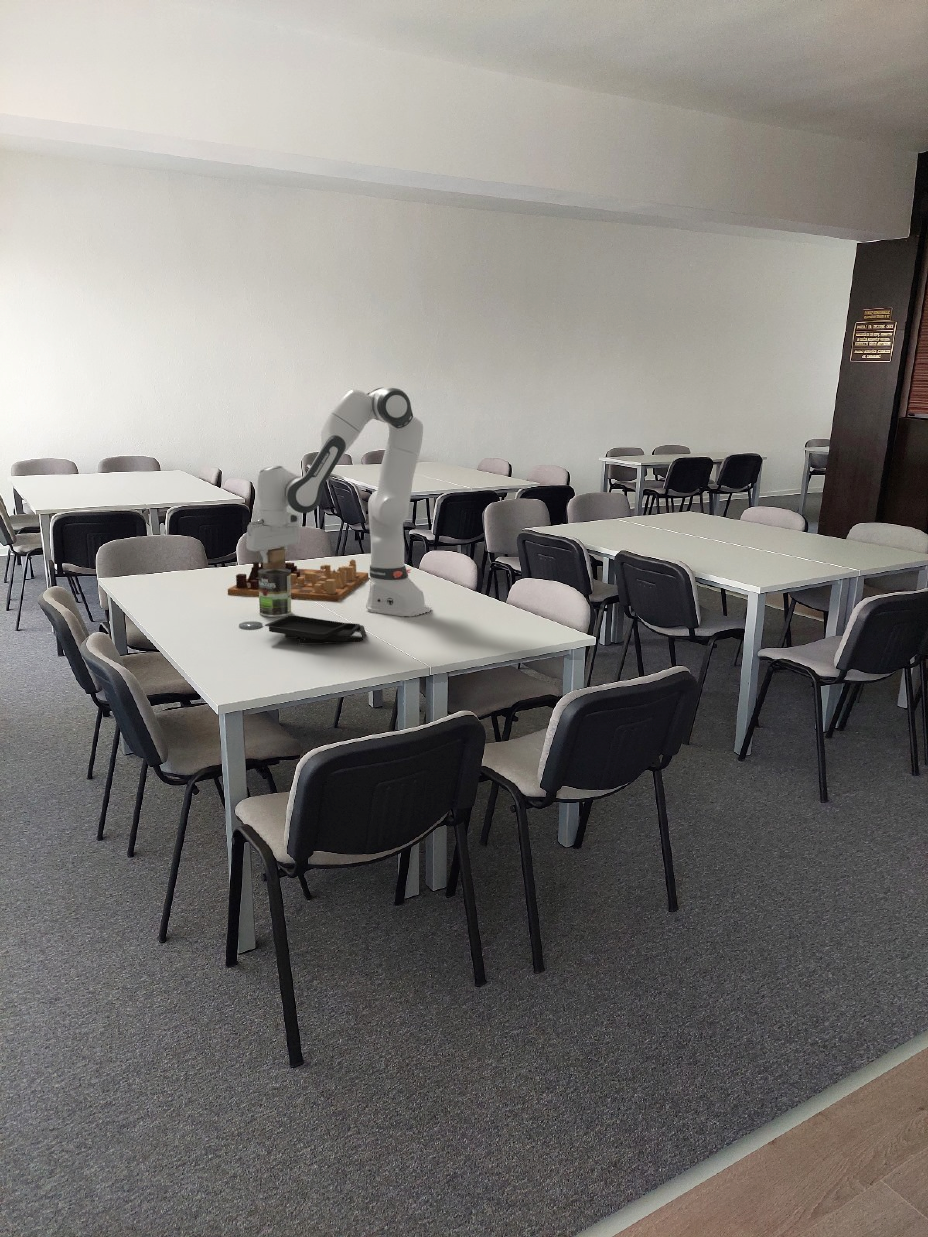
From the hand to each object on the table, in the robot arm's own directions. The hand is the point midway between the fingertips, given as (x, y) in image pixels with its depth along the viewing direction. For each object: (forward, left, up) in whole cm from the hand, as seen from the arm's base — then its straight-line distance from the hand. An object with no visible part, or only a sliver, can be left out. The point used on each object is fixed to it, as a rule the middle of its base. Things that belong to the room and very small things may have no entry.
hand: (274, 561), depth 285 cm
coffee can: (0, 0, -17) cm, 17 cm away
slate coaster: (-6, +16, -18) cm, 24 cm away
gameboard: (+23, -34, -18) cm, 45 cm away
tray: (-32, +13, -18) cm, 39 cm away
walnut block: (0, 0, -2) cm, 2 cm away
